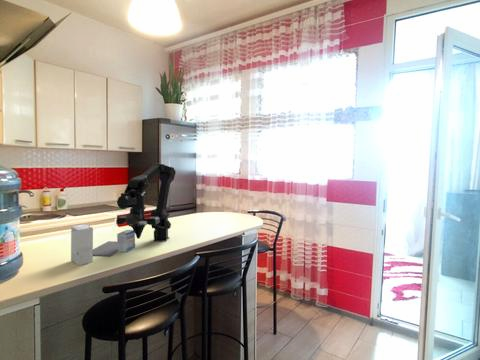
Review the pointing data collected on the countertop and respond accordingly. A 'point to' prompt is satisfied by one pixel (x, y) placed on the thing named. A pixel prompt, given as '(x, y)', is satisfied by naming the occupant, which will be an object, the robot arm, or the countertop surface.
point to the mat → (106, 249)
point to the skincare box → (81, 244)
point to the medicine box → (126, 240)
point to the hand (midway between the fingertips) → (138, 238)
